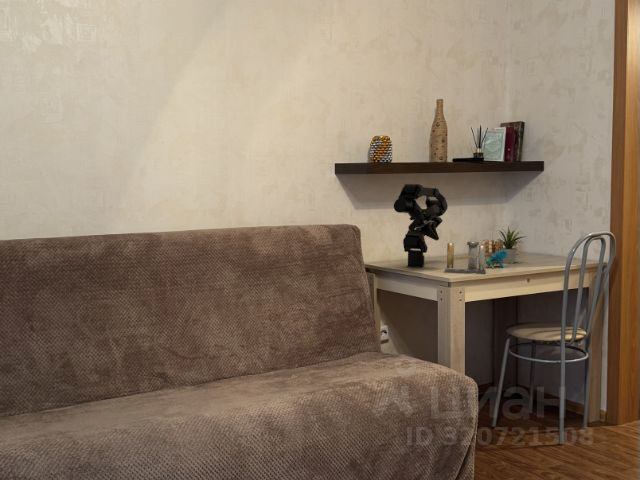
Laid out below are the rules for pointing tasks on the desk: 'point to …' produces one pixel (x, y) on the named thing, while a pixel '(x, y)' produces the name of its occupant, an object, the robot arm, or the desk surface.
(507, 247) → the house plant
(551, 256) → the desk surface
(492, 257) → the blue animal figurine
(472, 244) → the grey stone tower
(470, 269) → the bolt plate
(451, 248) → the swing leg
